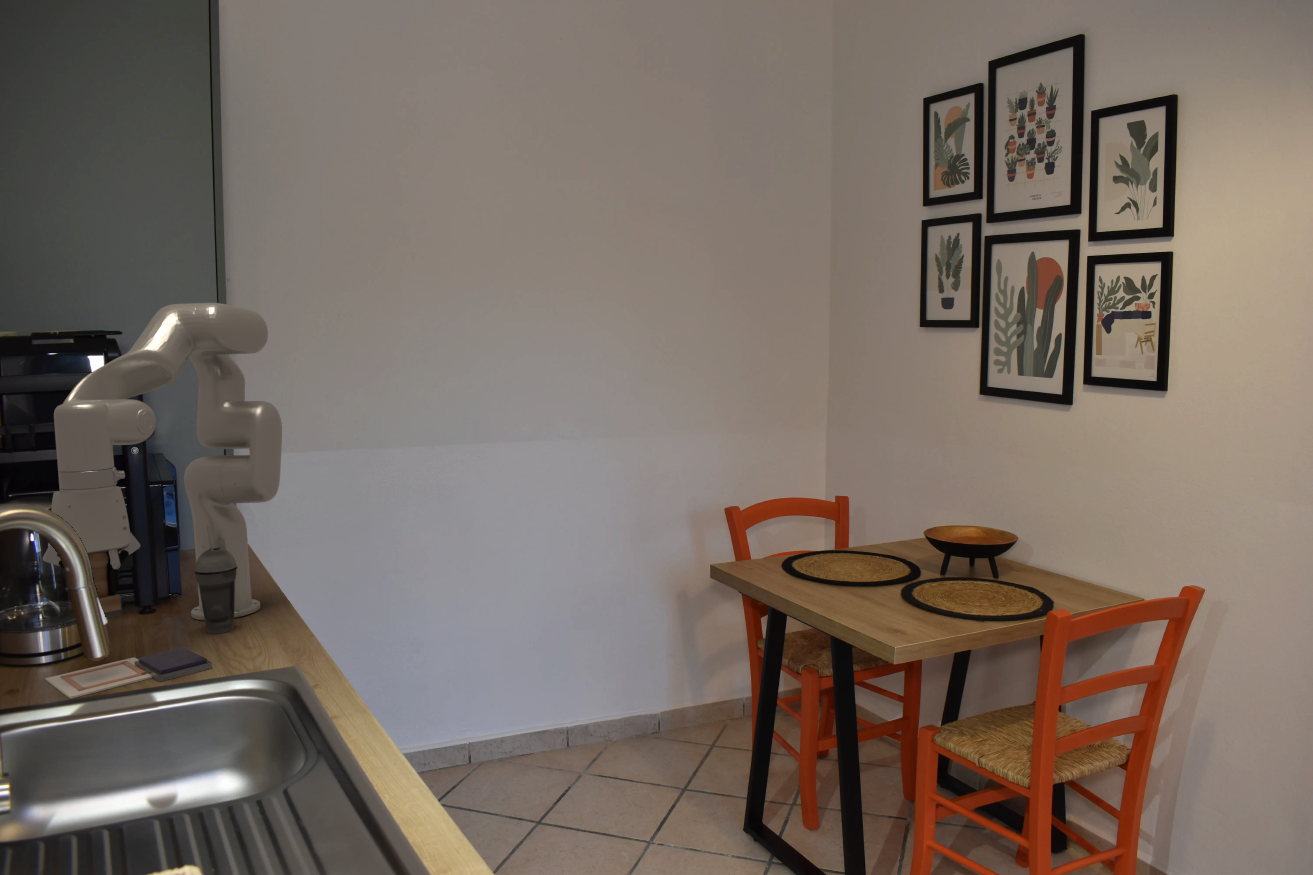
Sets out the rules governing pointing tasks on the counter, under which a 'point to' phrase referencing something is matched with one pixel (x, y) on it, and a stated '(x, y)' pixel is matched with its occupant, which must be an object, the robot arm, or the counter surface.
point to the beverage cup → (217, 587)
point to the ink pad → (173, 664)
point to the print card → (98, 678)
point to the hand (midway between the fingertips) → (96, 594)
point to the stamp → (104, 584)
